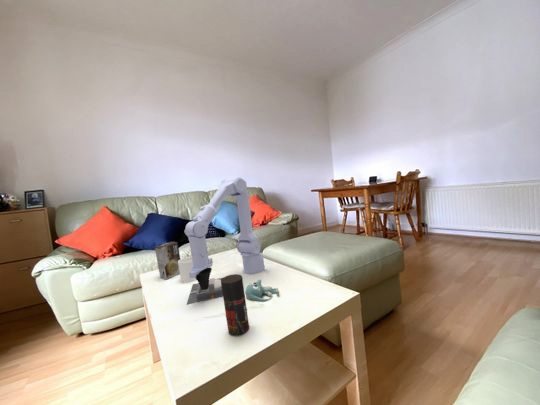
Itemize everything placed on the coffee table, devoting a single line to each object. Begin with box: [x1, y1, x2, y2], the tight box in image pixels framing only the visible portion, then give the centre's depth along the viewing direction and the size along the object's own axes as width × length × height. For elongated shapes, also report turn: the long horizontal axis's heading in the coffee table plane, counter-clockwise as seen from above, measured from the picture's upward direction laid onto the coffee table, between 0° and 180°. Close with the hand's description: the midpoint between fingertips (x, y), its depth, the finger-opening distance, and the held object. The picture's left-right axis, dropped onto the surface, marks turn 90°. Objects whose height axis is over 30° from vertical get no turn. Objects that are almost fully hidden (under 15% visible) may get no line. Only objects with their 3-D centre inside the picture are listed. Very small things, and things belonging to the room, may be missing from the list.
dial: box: [203, 277, 222, 292], centre depth 92 cm, size 11×8×4 cm
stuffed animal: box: [244, 279, 280, 302], centre depth 84 cm, size 11×7×12 cm
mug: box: [178, 256, 197, 284], centre depth 109 cm, size 12×8×10 cm
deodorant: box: [221, 274, 250, 337], centre depth 67 cm, size 6×6×15 cm
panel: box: [186, 276, 225, 306], centre depth 94 cm, size 18×18×3 cm
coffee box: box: [154, 241, 182, 281], centre depth 119 cm, size 9×6×16 cm
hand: (205, 288), depth 88 cm, fingers closed
